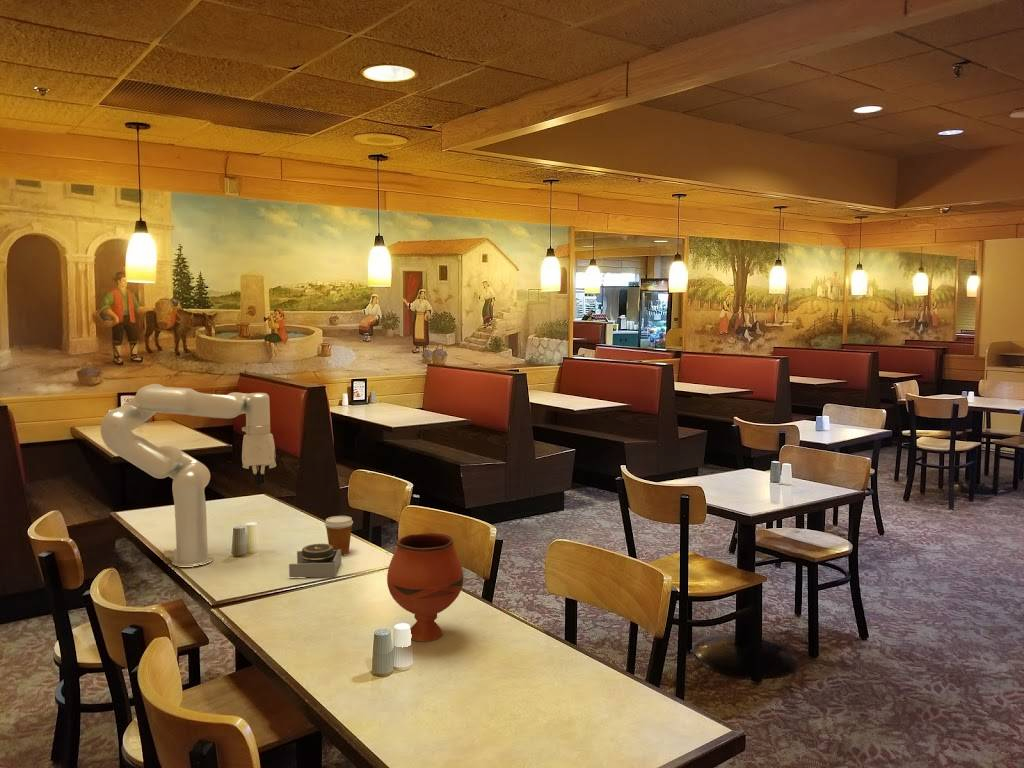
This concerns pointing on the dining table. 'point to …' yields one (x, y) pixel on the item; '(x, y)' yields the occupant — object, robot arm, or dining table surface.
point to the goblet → (425, 580)
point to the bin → (315, 567)
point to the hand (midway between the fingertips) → (260, 485)
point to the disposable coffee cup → (339, 532)
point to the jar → (318, 553)
